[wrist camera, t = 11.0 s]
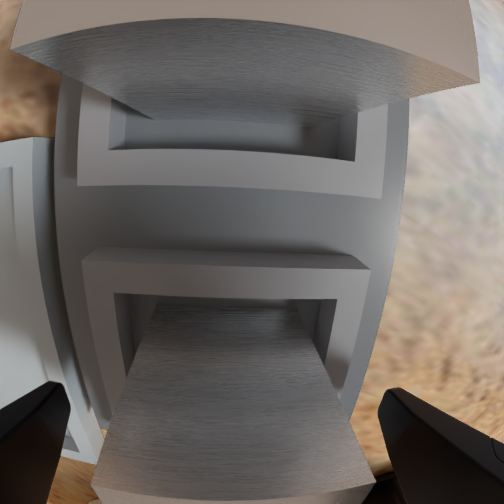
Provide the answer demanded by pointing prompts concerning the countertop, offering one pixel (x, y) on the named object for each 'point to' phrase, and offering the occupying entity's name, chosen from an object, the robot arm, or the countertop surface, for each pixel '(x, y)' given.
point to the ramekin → (96, 502)
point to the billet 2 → (229, 415)
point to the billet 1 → (254, 54)
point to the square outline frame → (37, 294)
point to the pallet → (223, 227)
